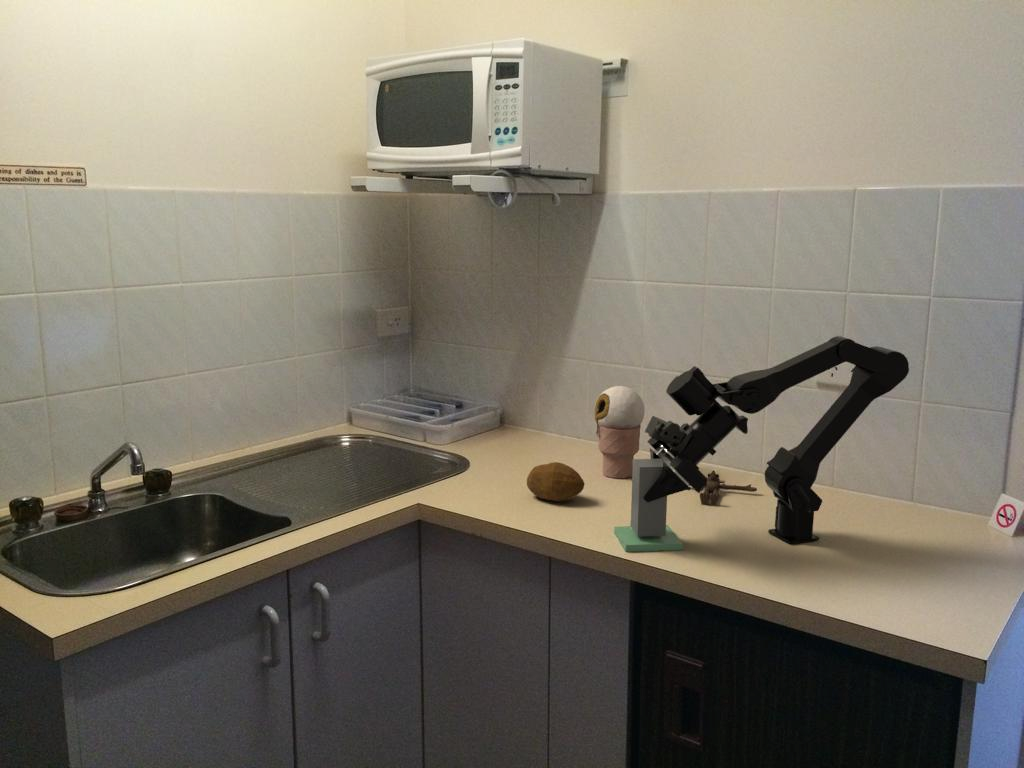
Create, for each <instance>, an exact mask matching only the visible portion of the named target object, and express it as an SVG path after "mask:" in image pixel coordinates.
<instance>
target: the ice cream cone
mask: <svg viewBox="0 0 1024 768" xmlns="http://www.w3.org/2000/svg"><path fill="white" fill-rule="evenodd" d="M645 411H646V409H645V404H644V402H643V399H642V397H641V396H640V394H639V393H638V392H637V391H635V390H634V389H632V388H630V387H628V386H624V385H615V386H612V387H608V388H607V389H606V390H604V391H602V392H601V394H599V395H598V397H597V399H596V401H595V404H594V419H595V422H596V432H595V436H596V437H597V438H598V445H597V446H598V450H599V451H600V453H601V454H602V475H603V476H604V475H605V477H607V478H611V479H619V480H620V478H623V479H625V478H626V479H628V478H630V477H632V470H633V459H635V457H634V456H635V455H636V454H638V453H639V451H640V437H641V424H642V423H643V420H644V419H645Z"/></svg>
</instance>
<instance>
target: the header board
mask: <svg viewBox="0 0 1024 768" xmlns="http://www.w3.org/2000/svg"><path fill="white" fill-rule="evenodd" d="M613 534H614V535H615V537H616V538H618V539H617V540H618V542H619V543H620V545H621V547H622V549H623V550H624V552H626V553H628V552H629V553H630V552H658V550H664V551H683V542H682V541H681V539H679V537H678V536H677V534H676V533H675V532H674V531H673V530H672V528H671V527H670V526H669V524H666V536H638V537H637V535H636V534H635V532H634V531H633V529H632V528H631V525H630V526H629V525H628V526H626V525H625V526H622V525H621V526H614V527H613Z"/></svg>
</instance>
